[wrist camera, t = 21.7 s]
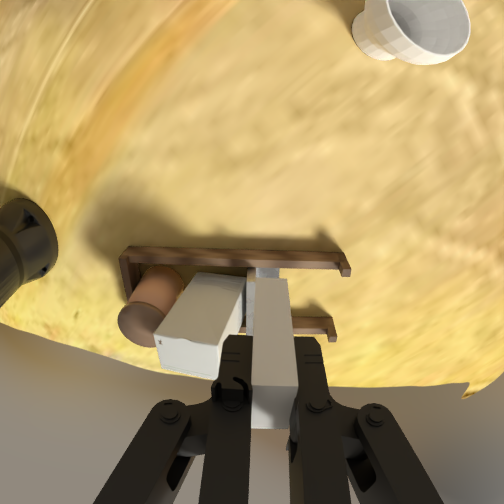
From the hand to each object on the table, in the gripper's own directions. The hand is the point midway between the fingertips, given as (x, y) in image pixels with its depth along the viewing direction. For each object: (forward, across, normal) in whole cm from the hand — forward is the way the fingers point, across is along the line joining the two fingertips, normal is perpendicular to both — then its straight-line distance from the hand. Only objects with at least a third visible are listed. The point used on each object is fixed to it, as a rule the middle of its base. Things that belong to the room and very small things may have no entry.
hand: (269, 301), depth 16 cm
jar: (+29, -15, -19) cm, 38 cm away
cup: (+29, +14, +21) cm, 39 cm away
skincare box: (+29, -5, -18) cm, 34 cm away
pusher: (+29, +1, -18) cm, 34 cm away
